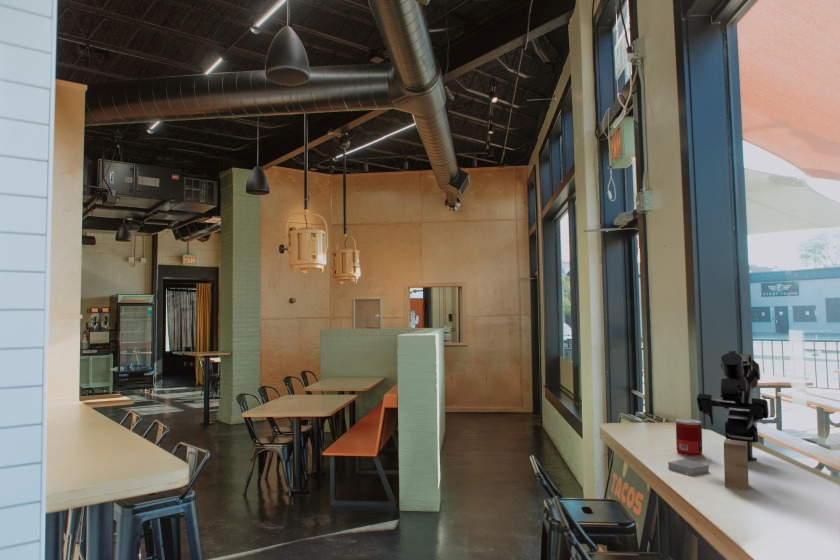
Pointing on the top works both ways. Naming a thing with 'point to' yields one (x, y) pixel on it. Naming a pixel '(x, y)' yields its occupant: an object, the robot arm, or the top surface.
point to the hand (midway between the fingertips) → (729, 426)
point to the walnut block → (736, 464)
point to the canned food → (689, 436)
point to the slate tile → (688, 466)
